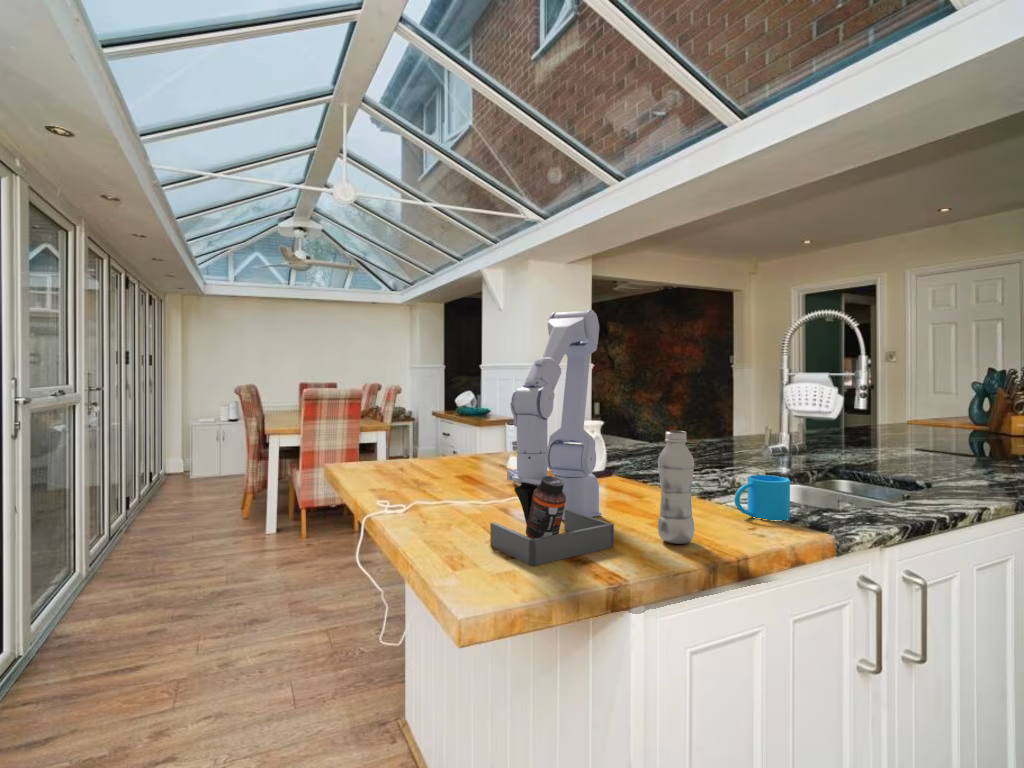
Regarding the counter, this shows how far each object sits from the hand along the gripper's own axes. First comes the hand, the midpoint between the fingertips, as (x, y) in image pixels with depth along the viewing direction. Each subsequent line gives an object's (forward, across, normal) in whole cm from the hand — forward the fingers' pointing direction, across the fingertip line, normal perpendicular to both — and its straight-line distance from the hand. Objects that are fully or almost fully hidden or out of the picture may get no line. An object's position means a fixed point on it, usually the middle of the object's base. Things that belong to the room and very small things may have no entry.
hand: (532, 524), depth 101 cm
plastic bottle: (+3, +16, +20) cm, 26 cm away
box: (+2, +6, 0) cm, 6 cm away
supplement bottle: (+2, +3, 0) cm, 3 cm away
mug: (+3, +14, +49) cm, 51 cm away
